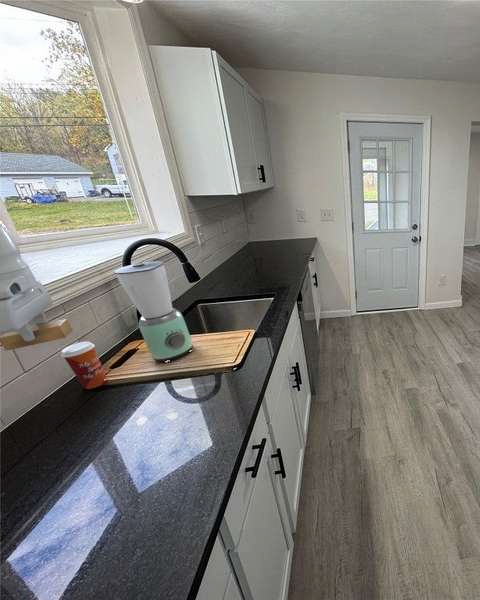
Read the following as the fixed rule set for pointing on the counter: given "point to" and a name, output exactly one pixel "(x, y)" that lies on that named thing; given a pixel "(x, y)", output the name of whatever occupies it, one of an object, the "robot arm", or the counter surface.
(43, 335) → the oak bar
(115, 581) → the counter surface
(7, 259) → the robot arm
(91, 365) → the paper cup
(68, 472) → the counter surface
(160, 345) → the juicer
